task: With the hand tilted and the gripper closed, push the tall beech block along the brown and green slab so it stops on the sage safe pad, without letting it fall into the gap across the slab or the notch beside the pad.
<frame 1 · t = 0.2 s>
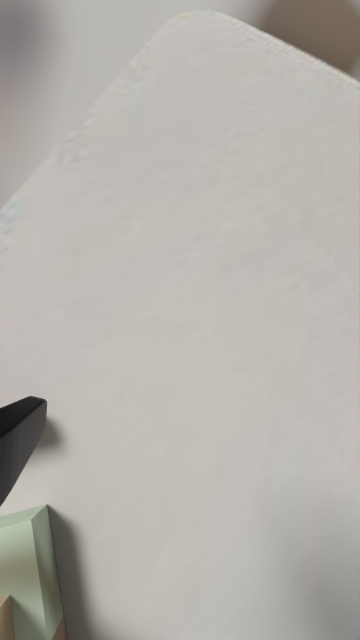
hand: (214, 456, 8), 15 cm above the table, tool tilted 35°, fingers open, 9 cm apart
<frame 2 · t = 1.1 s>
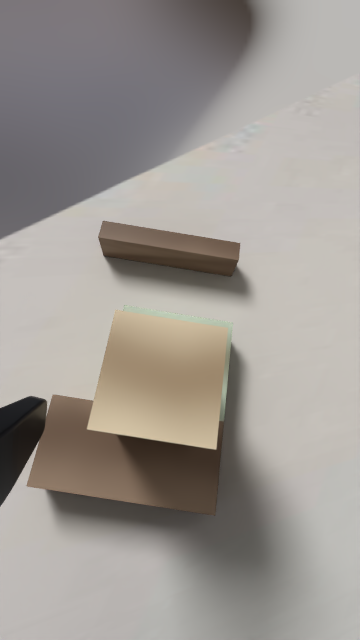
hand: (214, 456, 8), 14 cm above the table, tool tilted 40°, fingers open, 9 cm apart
beech block: (160, 399, 19), point 2 cm above the table, touching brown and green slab
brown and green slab: (168, 357, 23), on the table
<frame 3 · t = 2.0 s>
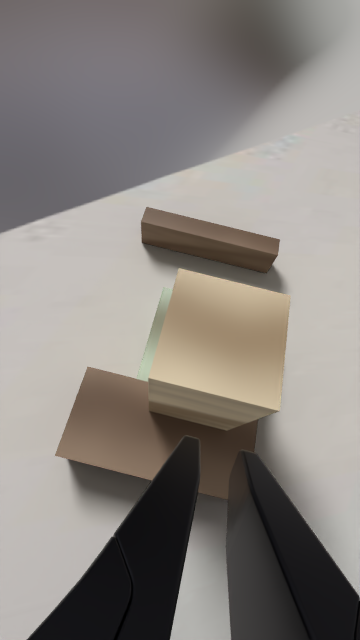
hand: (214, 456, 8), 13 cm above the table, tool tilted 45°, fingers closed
beech block: (195, 381, 19), point 2 cm above the table, touching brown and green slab
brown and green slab: (200, 345, 23), on the table
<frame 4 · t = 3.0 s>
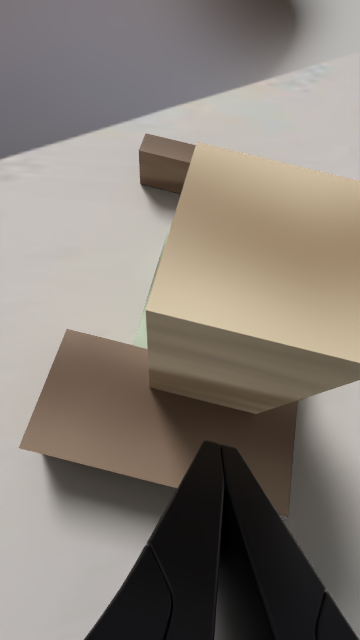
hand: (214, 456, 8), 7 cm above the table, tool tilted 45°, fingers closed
beech block: (212, 349, 14), point 2 cm above the table, touching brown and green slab
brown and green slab: (215, 307, 18), on the table
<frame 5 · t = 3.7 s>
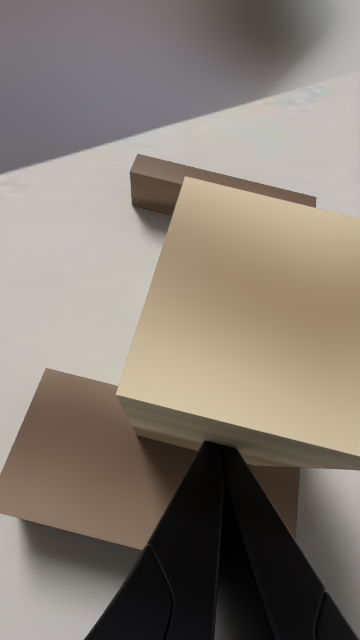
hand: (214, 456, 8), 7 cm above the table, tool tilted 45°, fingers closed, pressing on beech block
beech block: (207, 390, 13), point 2 cm above the table, touching gripper, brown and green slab
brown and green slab: (210, 338, 16), on the table
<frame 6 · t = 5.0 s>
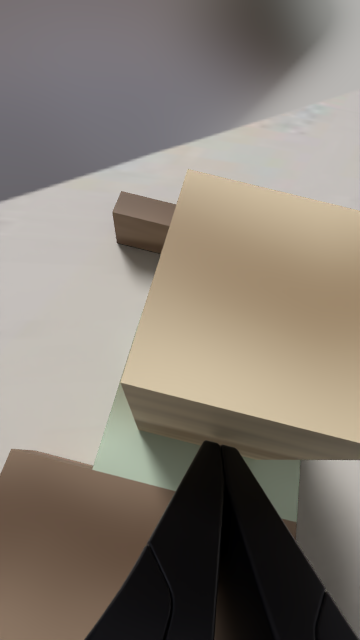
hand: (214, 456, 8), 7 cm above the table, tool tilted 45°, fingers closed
beech block: (208, 385, 13), point 2 cm above the table, touching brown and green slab
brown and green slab: (199, 396, 15), on the table
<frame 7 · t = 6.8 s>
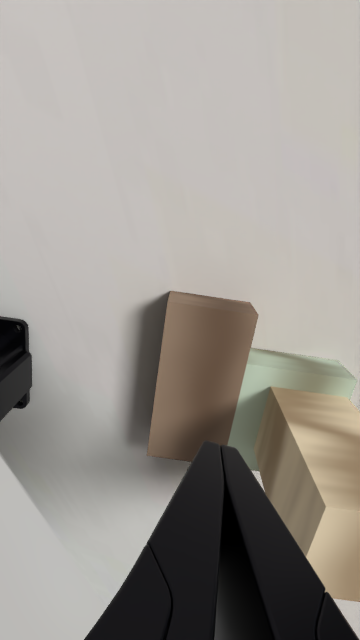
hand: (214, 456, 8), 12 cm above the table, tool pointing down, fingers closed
beech block: (298, 423, 19), point 2 cm above the table, touching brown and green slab
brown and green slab: (287, 400, 22), on the table
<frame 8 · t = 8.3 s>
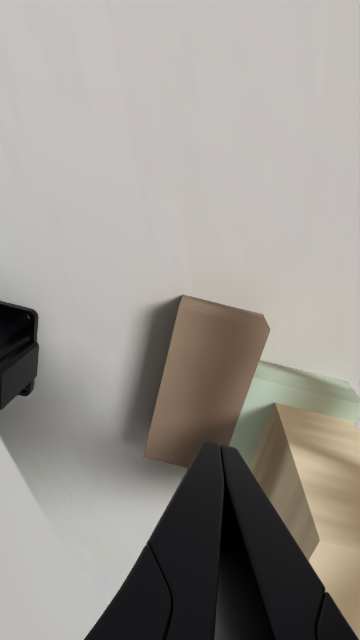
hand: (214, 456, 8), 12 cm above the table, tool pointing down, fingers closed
beech block: (300, 442, 19), point 2 cm above the table, touching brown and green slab
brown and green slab: (290, 416, 21), on the table
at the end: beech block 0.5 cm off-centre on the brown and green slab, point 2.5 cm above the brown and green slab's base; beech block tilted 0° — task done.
